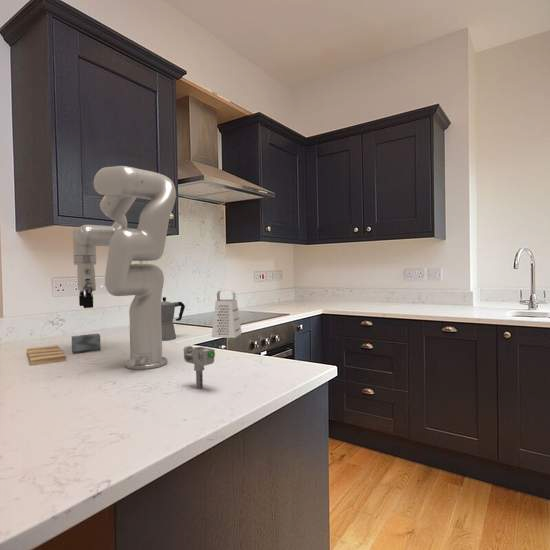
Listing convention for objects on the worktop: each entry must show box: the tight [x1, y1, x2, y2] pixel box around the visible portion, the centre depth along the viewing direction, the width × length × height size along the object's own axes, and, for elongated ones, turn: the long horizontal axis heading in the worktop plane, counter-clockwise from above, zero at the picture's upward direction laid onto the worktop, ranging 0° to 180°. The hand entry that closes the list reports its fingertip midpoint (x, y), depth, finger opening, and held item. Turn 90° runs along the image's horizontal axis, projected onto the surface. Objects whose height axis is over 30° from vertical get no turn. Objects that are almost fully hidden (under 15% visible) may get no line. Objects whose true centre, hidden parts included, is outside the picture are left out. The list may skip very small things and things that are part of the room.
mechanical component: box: [183, 345, 216, 389], centre depth 96 cm, size 3×10×10 cm, turn 51°
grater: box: [211, 289, 243, 339], centre depth 171 cm, size 10×10×20 cm
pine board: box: [26, 344, 67, 366], centre depth 135 cm, size 24×10×2 cm, turn 35°
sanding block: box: [71, 333, 102, 355], centre depth 143 cm, size 9×4×6 cm, turn 125°
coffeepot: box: [161, 296, 186, 342], centre depth 166 cm, size 15×9×18 cm, turn 118°
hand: (86, 306), depth 143 cm, fingers open, 9 cm apart
